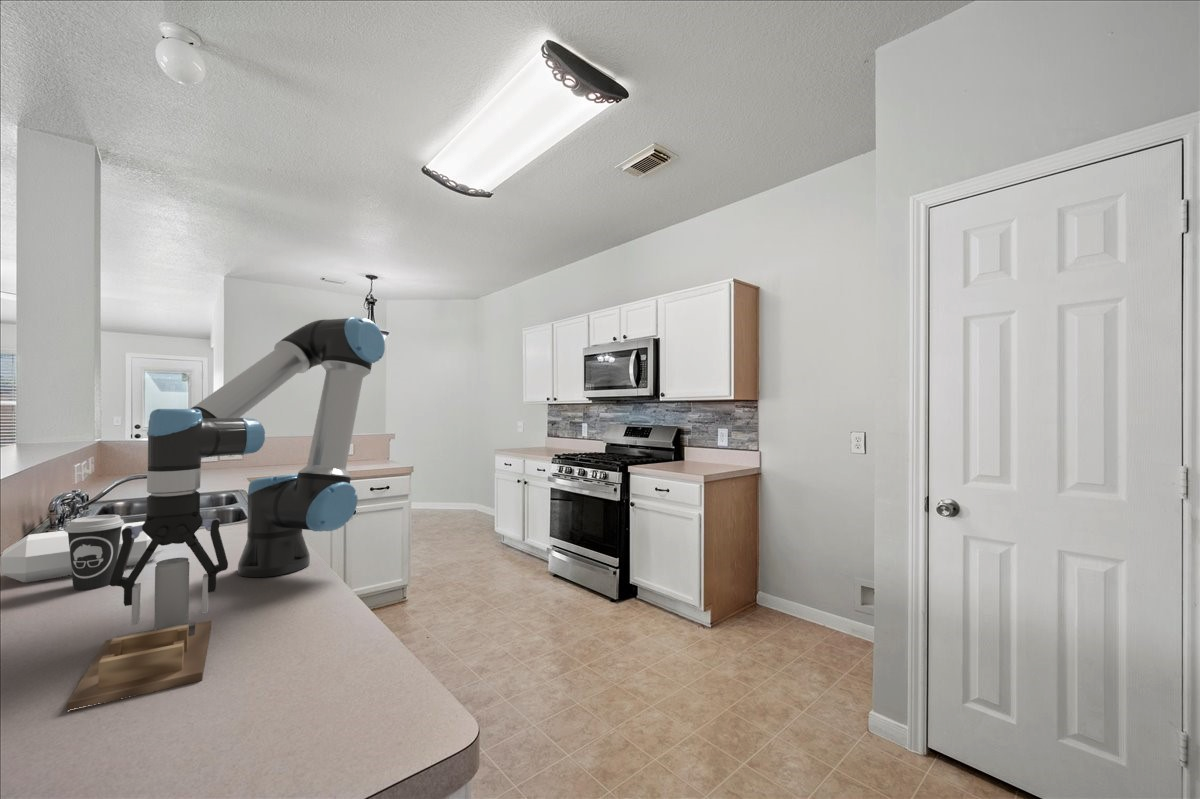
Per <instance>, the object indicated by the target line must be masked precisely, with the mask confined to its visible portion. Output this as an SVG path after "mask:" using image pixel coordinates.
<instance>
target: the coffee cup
mask: <svg viewBox="0 0 1200 799" xmlns="http://www.w3.org/2000/svg"><path fill="white" fill-rule="evenodd" d="M125 524H126V523H125V521H124V519H122V518H121V515H119V514H101V515H100V514H98V515H90V516H89V515H88V516H84V517H78V518H74V519H71V520H70V522H69V524H68V525H67V526H66V527H65V529H64V531H65V532H68V538H69V548H70V558H71V569H72V575H71V579H72V588H73V590H75V591H86V590H87V591H88V590H95V589H99V588H104V587H107V586H111V585H110V580H111V577H112V574H113V571H114V568H115V565H116V562H117V556H118V549H119V542H120V535H121V528H122V526H123V525H125Z"/></svg>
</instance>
